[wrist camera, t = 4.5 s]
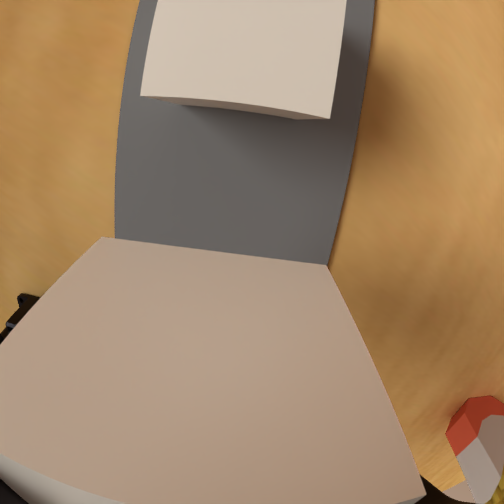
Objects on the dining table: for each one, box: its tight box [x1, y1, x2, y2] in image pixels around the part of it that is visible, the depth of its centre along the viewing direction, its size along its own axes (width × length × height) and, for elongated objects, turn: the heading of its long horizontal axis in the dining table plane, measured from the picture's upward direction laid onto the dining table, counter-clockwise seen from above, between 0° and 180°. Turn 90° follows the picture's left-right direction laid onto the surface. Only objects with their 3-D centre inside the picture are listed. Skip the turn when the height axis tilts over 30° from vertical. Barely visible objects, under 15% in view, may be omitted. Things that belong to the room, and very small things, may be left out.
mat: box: [115, 0, 375, 266], centre depth 17 cm, size 24×14×1 cm, turn 172°
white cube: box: [0, 237, 427, 504], centre depth 7 cm, size 7×7×7 cm
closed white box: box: [140, 0, 347, 120], centre depth 11 cm, size 7×7×7 cm
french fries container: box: [445, 396, 504, 504], centre depth 22 cm, size 5×11×18 cm, turn 76°
